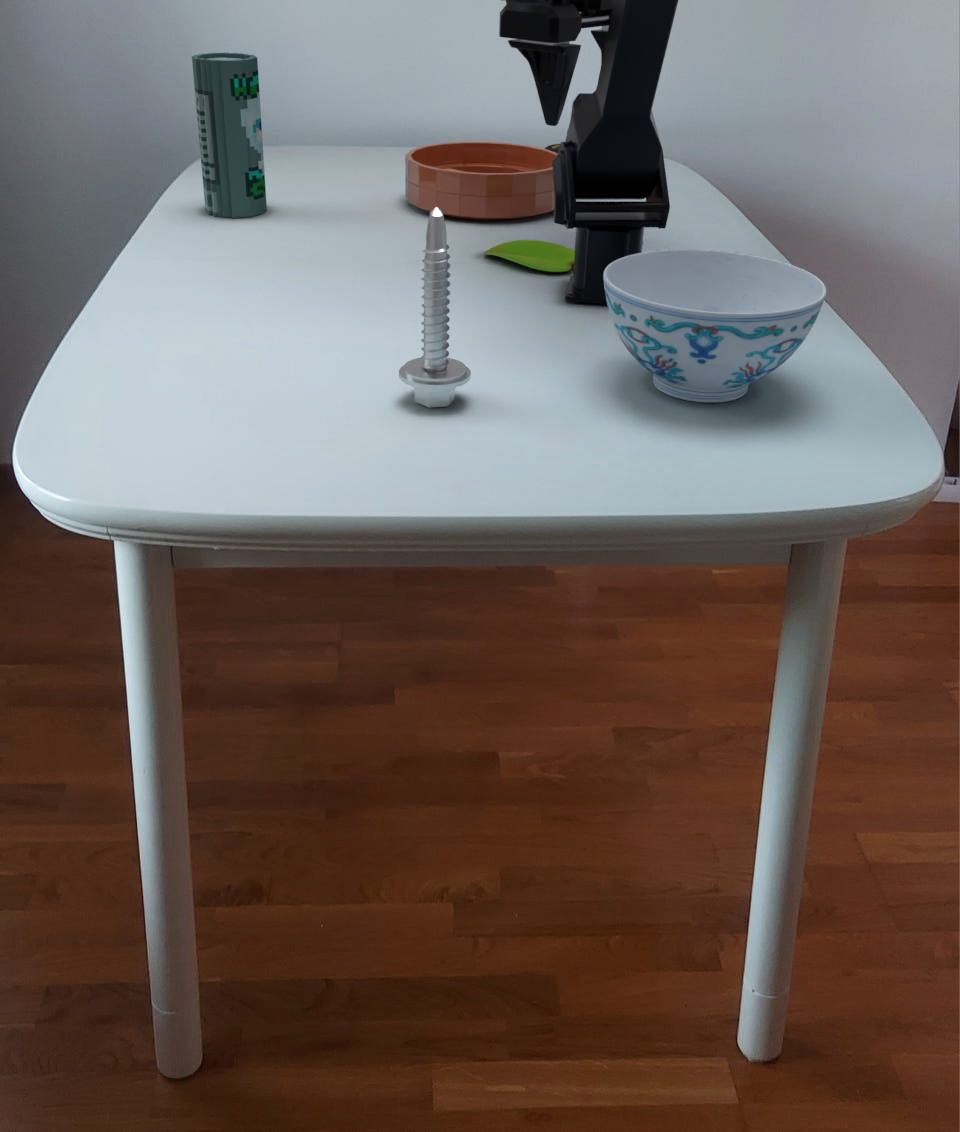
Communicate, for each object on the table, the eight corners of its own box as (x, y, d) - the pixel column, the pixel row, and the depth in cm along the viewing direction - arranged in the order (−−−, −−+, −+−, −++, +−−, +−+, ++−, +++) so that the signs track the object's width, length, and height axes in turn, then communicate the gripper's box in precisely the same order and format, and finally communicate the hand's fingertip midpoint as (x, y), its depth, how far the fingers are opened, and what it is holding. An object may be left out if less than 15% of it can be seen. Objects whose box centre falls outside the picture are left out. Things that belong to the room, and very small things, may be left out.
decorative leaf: (524, 283, 105) (525, 273, 105) (477, 253, 112) (477, 243, 111) (596, 268, 108) (596, 258, 108) (546, 240, 115) (546, 230, 114)
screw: (432, 420, 77) (384, 399, 80) (484, 402, 80) (436, 382, 83) (434, 220, 71) (382, 205, 74) (491, 208, 74) (438, 194, 76)
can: (271, 215, 122) (261, 60, 115) (212, 219, 120) (199, 61, 113) (258, 202, 127) (248, 52, 120) (202, 205, 125) (188, 53, 118)
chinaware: (642, 435, 76) (654, 320, 72) (566, 356, 88) (573, 254, 84) (848, 417, 80) (870, 306, 76) (747, 343, 92) (761, 244, 88)
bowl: (554, 228, 121) (557, 178, 119) (391, 217, 123) (390, 168, 121) (568, 191, 136) (571, 146, 133) (422, 182, 138) (422, 138, 135)
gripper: (577, -78, 111) (566, 98, 119) (451, -77, 98) (448, 119, 106) (680, -72, 105) (661, 112, 113) (560, -71, 93) (548, 137, 100)
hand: (580, 119), depth 108 cm, fingers open, 9 cm apart
